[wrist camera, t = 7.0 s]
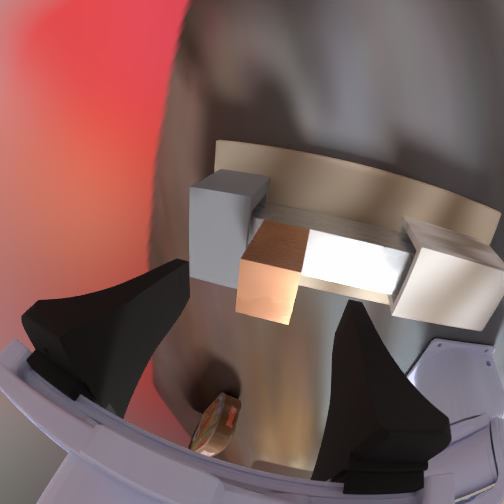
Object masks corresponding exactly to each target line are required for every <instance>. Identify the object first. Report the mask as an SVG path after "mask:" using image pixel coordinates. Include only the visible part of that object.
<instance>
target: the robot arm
mask: <svg viewBox="0 0 504 504" xmlns="http://www.w3.org/2000/svg"><path fill="white" fill-rule="evenodd" d="M189 298H190V285H189V262H188V261H185V260H181V259H175V260H172V261H170V262H168V263H166V264H164V265H162V266H159V267H157V268H155V269H153V270H151V271H149V272H147V273H145V274H143V275H141V276H138V277H136V278H133V279H131V280H129V281H127V282H124V283H122V284H119V285H116V286H114V287H111V288H108V289H104V290H101V291H98V292H94V293H89V294H85V295H81V296H75V297H70V298H62V299H49V300H38V301H37V302H36V303H35V304H34V305H33V306H32V307H30V308H29V309H28V310H27V311H26V312H25V313H24V314H23V315H22V324H23V327H24V329H25V331H26V333H27V335H28V337H29V338H30V340H31V342H32V344H33V346H34V347H35V349H36V350H35V351H34V352H33V353H31V352H30V350H29V349H28V348H27V347H25V346H24V345H23V344H22V343H21V342H20V341H19V340H18V339H14V340H13V341H12V342H11V343H10V344H9V345H8V346H7V347H6V348H5V349H4V350H3V351H2V352H1V353H0V389H1V390H2V391H3V393H4V394H5V395H6V396H7V397H8V398H9V399H10V401H11V402H12V403H13V404H14V405H15V406H16V407H17V408H18V409H19V410H20V411H21V412H22V413H23V414H24V415H25V416H26V417H27V418H28V419H29V420H30V421H31V422H33V423H34V424H35V425H36V426H37V427H38V428H39V429H40V430H41V431H42V432H44V433H45V434H46V435H47V436H48V437H49V438H51V439H52V440H53V441H54V442H56V443H57V444H58V445H59V446H60V447H62V448H63V449H64V450H66V451H67V452H68V455H67V456H66V458H65V460H64V461H63V462H62V464H61V466H60V467H59V469H58V470H57V472H56V473H55V475H54V476H53V478H52V479H51V481H50V483H49V484H48V486H47V487H46V489H45V490H44V492H43V494H42V495H41V497H40V498H39V500H38V502H37V503H36V504H501V503H502V502H503V500H504V419H502V415H503V413H504V390H503V386H502V383H501V380H500V377H499V374H498V372H497V369H496V366H495V363H494V361H493V358H492V356H491V355H492V354H493V353H494V351H495V347H494V346H489V345H481V344H473V343H465V342H458V341H451V340H444V339H434V340H432V341H431V343H430V344H429V346H428V347H427V349H426V350H425V352H424V353H423V354H422V356H421V357H420V359H419V360H418V361H417V363H416V364H415V366H414V367H413V368H412V370H411V371H410V372H409V374H408V375H407V376H405V374H404V373H403V372H402V371H401V369H400V368H399V366H398V365H397V364H396V362H395V361H394V359H393V358H392V356H391V355H390V353H389V352H388V350H387V348H386V347H385V345H384V344H383V342H382V340H381V338H380V336H379V334H378V333H377V331H376V329H375V327H374V325H373V323H372V321H371V319H370V317H369V315H368V313H367V311H366V309H365V307H364V305H363V303H362V302H358V301H354V300H348V303H347V305H346V308H345V310H344V313H343V315H342V318H341V320H340V323H339V325H338V328H337V330H336V332H335V338H334V344H333V352H332V376H331V397H330V405H329V411H328V416H327V421H326V426H325V431H324V435H323V439H322V443H321V447H320V451H319V455H318V458H317V462H316V465H315V468H314V471H313V474H312V477H311V480H307V479H301V478H294V477H288V476H283V475H278V474H273V473H268V472H263V471H259V470H255V469H251V468H247V467H243V466H239V465H236V464H232V463H229V462H225V461H222V460H219V459H216V458H212V457H209V456H206V455H204V454H201V453H198V452H195V451H192V450H190V449H187V448H184V447H182V446H179V445H177V444H174V443H172V442H169V441H167V440H165V439H163V438H160V437H158V436H156V435H154V434H152V433H149V432H147V431H145V430H143V429H141V428H139V427H137V426H135V425H133V424H131V423H129V422H127V421H125V420H123V418H124V415H125V412H126V410H127V407H128V404H129V402H130V399H131V397H132V395H133V393H134V390H135V388H136V386H137V384H138V381H139V379H140V377H141V375H142V373H143V371H144V369H145V367H146V366H147V364H148V362H149V360H150V358H151V356H152V354H153V353H154V351H155V350H156V348H157V347H158V345H159V344H160V342H161V341H162V340H163V338H164V337H165V335H166V334H167V333H168V331H169V330H170V329H171V327H172V326H173V324H174V323H175V322H176V320H177V319H178V317H179V316H180V315H181V313H182V311H183V309H184V307H185V306H186V304H187V302H188V300H189ZM227 483H228V484H227ZM494 483H496V484H495V485H494V486H493V487H492V488H490V489H488V490H486V491H483V492H481V493H479V494H477V495H474V496H471V497H469V498H467V499H464V500H461V501H459V502H456V503H454V500H456V499H458V498H461V497H464V496H466V495H469V494H471V493H473V492H476V491H478V490H481V489H483V488H485V487H487V486H489V485H491V484H494ZM230 484H231V485H230ZM233 485H235V486H233ZM236 486H239V487H242V488H246V489H251V490H255V491H259V492H264V493H263V495H262V494H259V493H255V492H252V491H249V490H245V489H242V488H239V487H236Z"/></svg>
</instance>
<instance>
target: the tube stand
mask: <svg viewBox="0 0 504 504" xmlns="http://www.w3.org/2000/svg"><path fill="white" fill-rule="evenodd" d="M220 169H225V170H232V171H239V172H245V173H252V174H258V175H264V176H269V177H270V181H269V189H268V196H267V202H271V203H276V204H281V205H286V206H291V207H295V208H300V209H305V210H310V211H314V212H319V213H323V214H328V215H332V216H337V217H341V218H345V219H350V220H354V221H358V222H362V223H366V224H370V225H374V226H378V227H382V228H386V229H390V230H394V231H397V232H401V233H405V234H408V236H409V238H410V240H411V241H412V243H413V245H414V247H415V249H416V254H415V256H414V259H413V262H412V264H411V266H410V269H409V271H408V274H407V276H406V278H405V281H404V283H403V285H402V287H401V290H400V292H399V294H398V296H396V295H391V294H386V293H382V292H377V291H373V290H368V289H363V288H359V287H354V286H350V285H345V284H341V283H336V282H332V281H327V280H323V279H318V278H314V277H309V276H305V275H301V276H300V281H299V285H301V286H305V287H310V288H314V289H319V290H323V291H328V292H332V293H337V294H341V295H346V296H351V297H355V298H360V299H365V300H370V301H374V302H379V303H384V304H389V305H390V309H391V314H392V316H397V317H403V318H408V319H413V320H418V321H424V322H429V323H435V324H441V325H446V326H452V327H458V328H464V329H470V330H477V331H482V330H483V329H484V327H485V326H486V324H487V322H488V321H489V319H490V318H491V316H492V314H493V313H494V311H495V309H496V308H497V306H498V304H499V303H500V301H501V299H502V297H503V296H504V262H503V261H502V260H501V258H500V257H499V256H498V255H497V254H496V253H495V251H494V250H493V249H492V248H491V247H490V243H491V241H492V238H493V236H494V233H495V230H496V228H497V225H498V222H499V219H500V217H501V213H500V212H499V211H497V210H495V209H493V208H490V207H488V206H486V205H483V204H481V203H478V202H476V201H474V200H471V199H469V198H466V197H463V196H461V195H458V194H456V193H453V192H450V191H447V190H445V189H442V188H439V187H436V186H433V185H430V184H427V183H424V182H421V181H418V180H415V179H412V178H409V177H405V176H402V175H399V174H395V173H392V172H388V171H385V170H381V169H377V168H374V167H370V166H366V165H362V164H358V163H354V162H350V161H346V160H341V159H337V158H332V157H328V156H323V155H318V154H313V153H308V152H303V151H297V150H291V149H286V148H280V147H273V146H267V145H260V144H252V143H245V142H237V141H228V140H216V153H215V167H214V173H215V172H216V171H218V170H220Z"/></svg>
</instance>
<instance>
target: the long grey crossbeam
mask: <svg viewBox="0 0 504 504" xmlns="http://www.w3.org/2000/svg"><path fill="white" fill-rule="evenodd" d="M415 254H416V249H415V247H414V245H413V243H412V241H411V240H410V238H409V236H408V234H405V233H401V232H397V231H394V230H390V229H386V228H382V227H378V226H374V225H370V224H366V223H362V222H358V221H354V220H350V219H345V218H341V217H337V216H332V215H328V214H323V213H319V212H314V211H310V210H305V209H300V208H295V207H291V206H286V205H281V204H276V203H271V202H265V201H260V202H259V203H258V204H257V206H256V207H255V208H254V210H253V211H252V212H251V220H250V230H249V239H248V247H247V249H246V250H245V252H244V254H243V255H242V257H241V259H240V269H239V279H238V290H237V301H236V312H239V313H243V314H247V315H251V316H254V317H258V318H262V319H266V320H270V321H275V322H279V323H283V324H287V325H288V324H289V320H290V316H291V313H292V309H293V305H294V301H295V297H296V293H297V289H298V285H299V281H300V276H301V275H305V276H309V277H314V278H318V279H323V280H327V281H332V282H336V283H341V284H345V285H350V286H354V287H359V288H363V289H368V290H373V291H377V292H382V293H386V294H391V295H396V296H398V294H399V292H400V290H401V287H402V285H403V283H404V281H405V278H406V276H407V274H408V271H409V269H410V266H411V264H412V262H413V259H414V256H415Z"/></svg>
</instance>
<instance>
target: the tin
mask: <svg viewBox="0 0 504 504" xmlns="http://www.w3.org/2000/svg"><path fill="white" fill-rule="evenodd" d="M240 409H241V402H240V400H238V399H236V398H234V397H231V396H229V395H227V394H225V393H224V392H222V393H221V394H220V395H219V396H218V397H217V398H216V399H215V400H214V402H213V403H212V404H211V405H210V406H209V407H208V408H207V409H206V410H205V412H204V413H203V415H202V416H201V418H200V420H199V422H198V424H197V426H196V429H195V431H194V433H193V436H192V439H191V441H190V444H189V448H188V449H190V450H192V451H195V452H198V453H201V454H204V455H206V456H209V457H212V456H214V455H216V454H218V453H219V452H221V451H223V450H224V449H225V447H226V446H227V445H228V443H229V442H230V440H231V438H232V436H233V434H234V431H235V427H236V422H237V419H238V415H239V411H240Z"/></svg>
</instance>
